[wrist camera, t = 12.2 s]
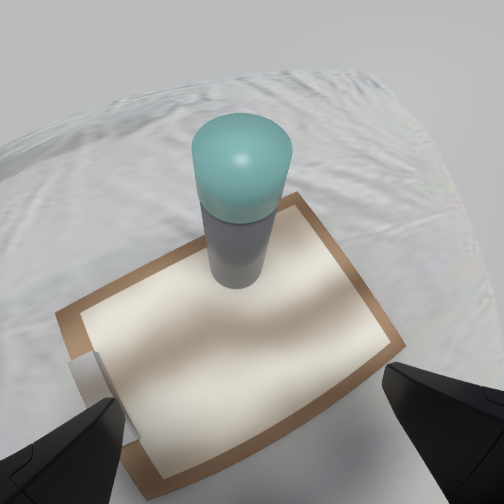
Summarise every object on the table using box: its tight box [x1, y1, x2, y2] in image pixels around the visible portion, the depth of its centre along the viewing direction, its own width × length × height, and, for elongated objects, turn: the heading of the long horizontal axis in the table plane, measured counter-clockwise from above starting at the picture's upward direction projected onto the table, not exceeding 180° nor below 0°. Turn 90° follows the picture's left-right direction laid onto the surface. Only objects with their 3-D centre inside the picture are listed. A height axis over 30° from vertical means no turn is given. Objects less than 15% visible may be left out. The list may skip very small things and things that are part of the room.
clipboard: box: [55, 192, 406, 501], centre depth 18 cm, size 14×20×2 cm
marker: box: [192, 113, 292, 289], centre depth 15 cm, size 4×4×11 cm
